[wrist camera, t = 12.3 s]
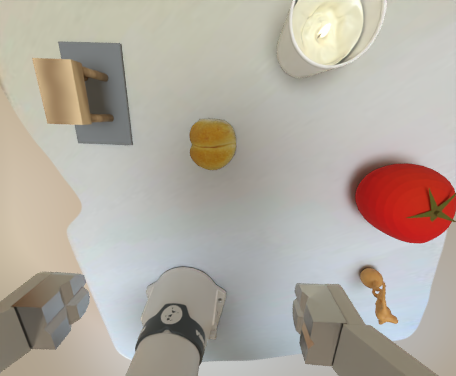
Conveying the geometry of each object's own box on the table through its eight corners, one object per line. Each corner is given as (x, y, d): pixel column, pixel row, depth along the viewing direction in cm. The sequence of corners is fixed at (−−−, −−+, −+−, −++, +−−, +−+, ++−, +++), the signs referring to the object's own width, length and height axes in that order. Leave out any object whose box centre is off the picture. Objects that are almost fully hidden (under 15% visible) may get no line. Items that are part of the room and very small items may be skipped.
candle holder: (337, 74, 34) (387, 53, 23) (277, 90, 35) (296, 78, 24) (332, 2, 31) (387, -64, 20) (266, 22, 32) (282, -29, 21)
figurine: (373, 285, 47) (416, 339, 36) (346, 287, 48) (380, 341, 37) (376, 255, 45) (424, 302, 33) (347, 257, 45) (385, 305, 34)
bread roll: (191, 166, 40) (187, 172, 36) (191, 117, 37) (185, 118, 33) (234, 169, 40) (234, 174, 36) (237, 119, 37) (237, 120, 33)
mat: (132, 144, 39) (131, 145, 39) (79, 142, 39) (78, 143, 39) (121, 44, 34) (119, 43, 33) (60, 42, 34) (58, 41, 34)
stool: (108, 72, 35) (70, 59, 27) (115, 122, 37) (82, 124, 29) (79, 71, 35) (32, 58, 27) (88, 121, 37) (47, 123, 29)
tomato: (355, 231, 43) (395, 269, 32) (337, 171, 39) (376, 193, 28) (419, 209, 41) (484, 242, 30) (407, 144, 37) (477, 156, 26)
